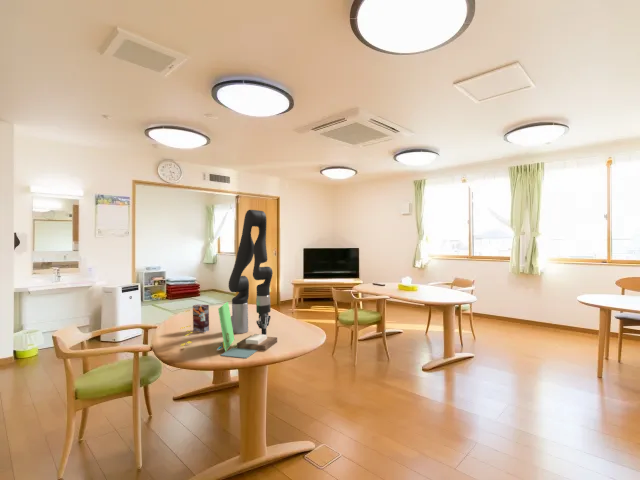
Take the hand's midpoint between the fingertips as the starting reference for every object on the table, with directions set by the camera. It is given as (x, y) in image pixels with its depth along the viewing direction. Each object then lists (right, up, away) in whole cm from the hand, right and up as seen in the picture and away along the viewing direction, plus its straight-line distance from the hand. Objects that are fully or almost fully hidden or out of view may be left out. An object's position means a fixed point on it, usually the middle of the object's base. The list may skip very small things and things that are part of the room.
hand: (264, 335), depth 180 cm
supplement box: (-42, -4, +21) cm, 47 cm away
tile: (-3, -1, -8) cm, 8 cm away
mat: (-9, -3, -18) cm, 21 cm away
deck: (-2, -3, -7) cm, 8 cm away
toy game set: (-29, -4, -8) cm, 30 cm away
